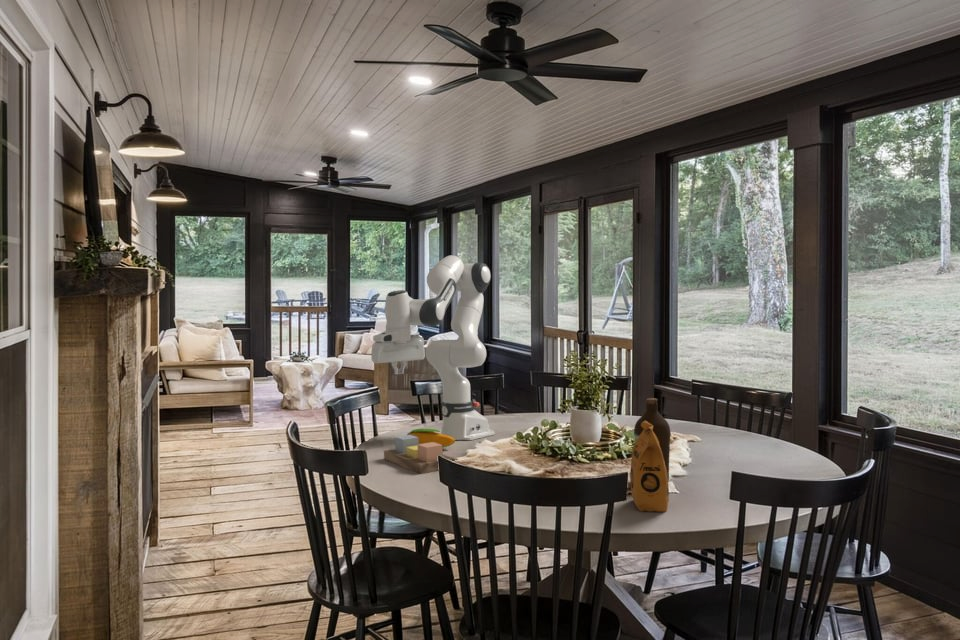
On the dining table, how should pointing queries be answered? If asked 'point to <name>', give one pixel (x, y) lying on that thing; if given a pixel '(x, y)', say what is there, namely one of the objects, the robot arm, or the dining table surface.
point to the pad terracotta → (429, 451)
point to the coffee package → (649, 473)
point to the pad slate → (405, 442)
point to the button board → (412, 461)
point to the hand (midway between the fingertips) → (399, 374)
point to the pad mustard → (412, 451)
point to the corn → (432, 437)
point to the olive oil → (656, 428)
